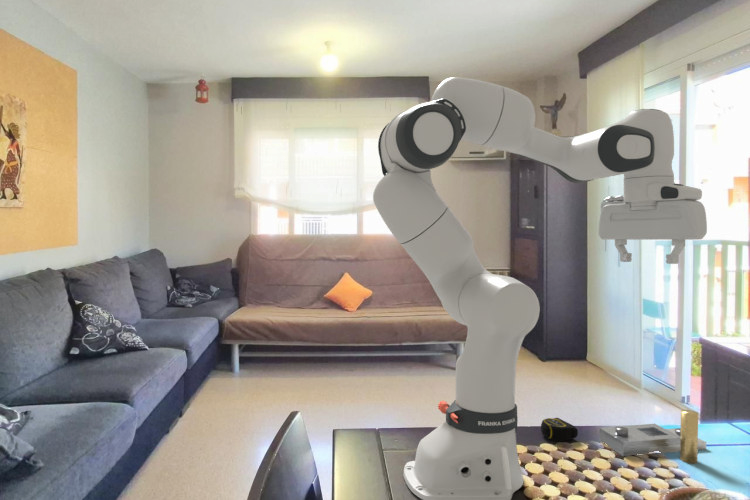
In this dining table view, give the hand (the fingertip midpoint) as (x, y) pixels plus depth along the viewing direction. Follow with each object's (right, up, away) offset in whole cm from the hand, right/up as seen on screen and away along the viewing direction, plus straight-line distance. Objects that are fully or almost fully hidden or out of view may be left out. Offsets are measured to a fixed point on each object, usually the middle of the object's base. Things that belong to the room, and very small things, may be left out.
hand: (648, 262), depth 100 cm
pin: (+10, -41, +3) cm, 42 cm away
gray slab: (+6, -40, +10) cm, 42 cm away
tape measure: (-13, -41, +15) cm, 45 cm away
